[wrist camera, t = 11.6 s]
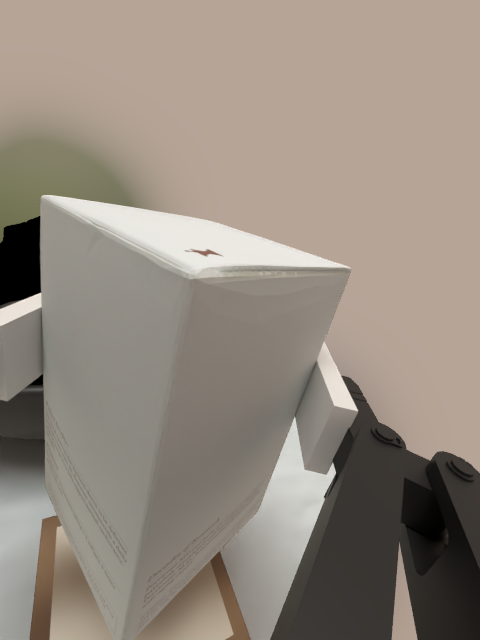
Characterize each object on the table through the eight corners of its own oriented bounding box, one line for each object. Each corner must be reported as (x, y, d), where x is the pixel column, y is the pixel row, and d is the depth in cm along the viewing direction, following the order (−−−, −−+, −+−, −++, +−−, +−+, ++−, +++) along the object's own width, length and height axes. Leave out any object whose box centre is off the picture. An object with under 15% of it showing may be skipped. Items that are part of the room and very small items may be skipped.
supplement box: (262, 512, 14) (364, 268, 9) (115, 664, 9) (185, 265, 4) (176, 420, 18) (217, 218, 14) (40, 483, 13) (31, 183, 8)
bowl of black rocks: (126, 346, 43) (140, 217, 36) (193, 442, 30) (235, 269, 23) (-67, 371, 30) (-106, 176, 23) (-100, 561, 17) (-216, 242, 10)
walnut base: (43, 547, 19) (42, 518, 18) (187, 503, 24) (194, 478, 23) (16, 822, 11) (11, 802, 10) (239, 671, 16) (253, 646, 15)
